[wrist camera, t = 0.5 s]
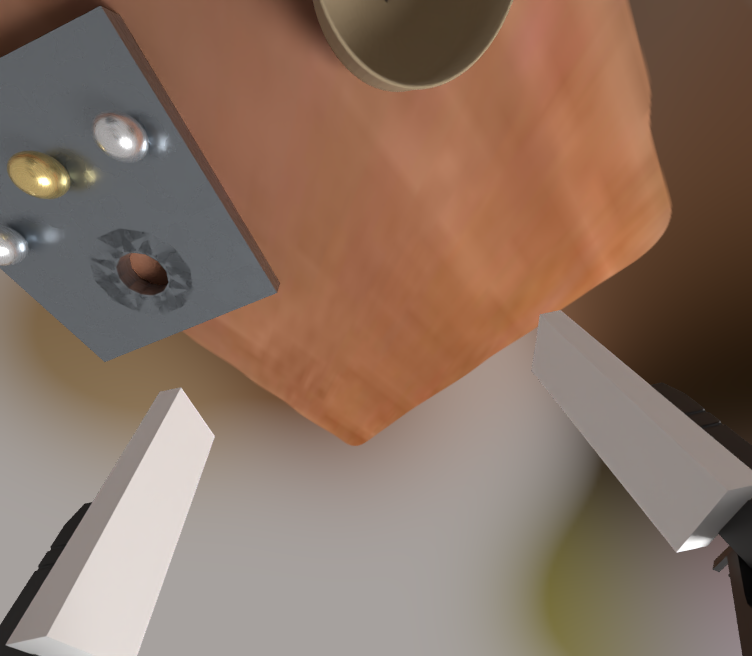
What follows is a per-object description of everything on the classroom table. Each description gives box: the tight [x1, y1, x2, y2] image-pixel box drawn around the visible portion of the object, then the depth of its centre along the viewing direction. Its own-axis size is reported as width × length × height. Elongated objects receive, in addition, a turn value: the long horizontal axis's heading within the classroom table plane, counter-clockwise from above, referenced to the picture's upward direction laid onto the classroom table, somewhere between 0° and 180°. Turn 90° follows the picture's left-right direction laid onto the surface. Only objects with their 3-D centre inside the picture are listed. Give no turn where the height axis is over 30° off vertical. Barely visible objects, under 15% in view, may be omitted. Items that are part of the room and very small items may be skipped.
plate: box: [0, 6, 280, 362], centre depth 31 cm, size 24×22×2 cm
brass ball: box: [7, 151, 70, 199], centre depth 26 cm, size 4×4×4 cm
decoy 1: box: [91, 110, 149, 163], centre depth 25 cm, size 4×4×4 cm
